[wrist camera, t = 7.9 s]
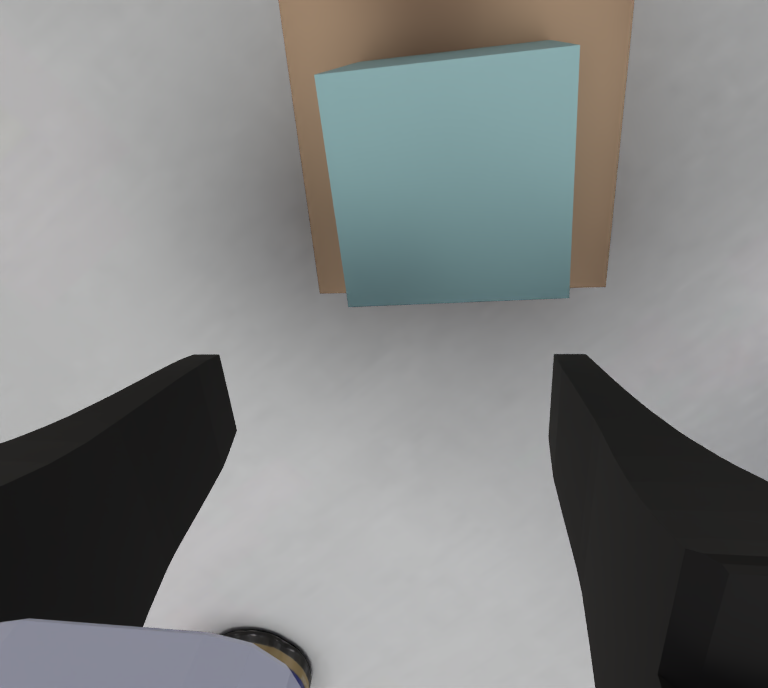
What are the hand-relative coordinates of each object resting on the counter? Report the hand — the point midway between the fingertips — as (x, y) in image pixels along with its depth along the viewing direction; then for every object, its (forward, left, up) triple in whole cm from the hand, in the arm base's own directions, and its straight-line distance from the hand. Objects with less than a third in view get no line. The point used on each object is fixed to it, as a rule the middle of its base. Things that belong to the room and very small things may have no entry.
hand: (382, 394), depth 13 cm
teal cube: (-1, -4, -7) cm, 8 cm away
